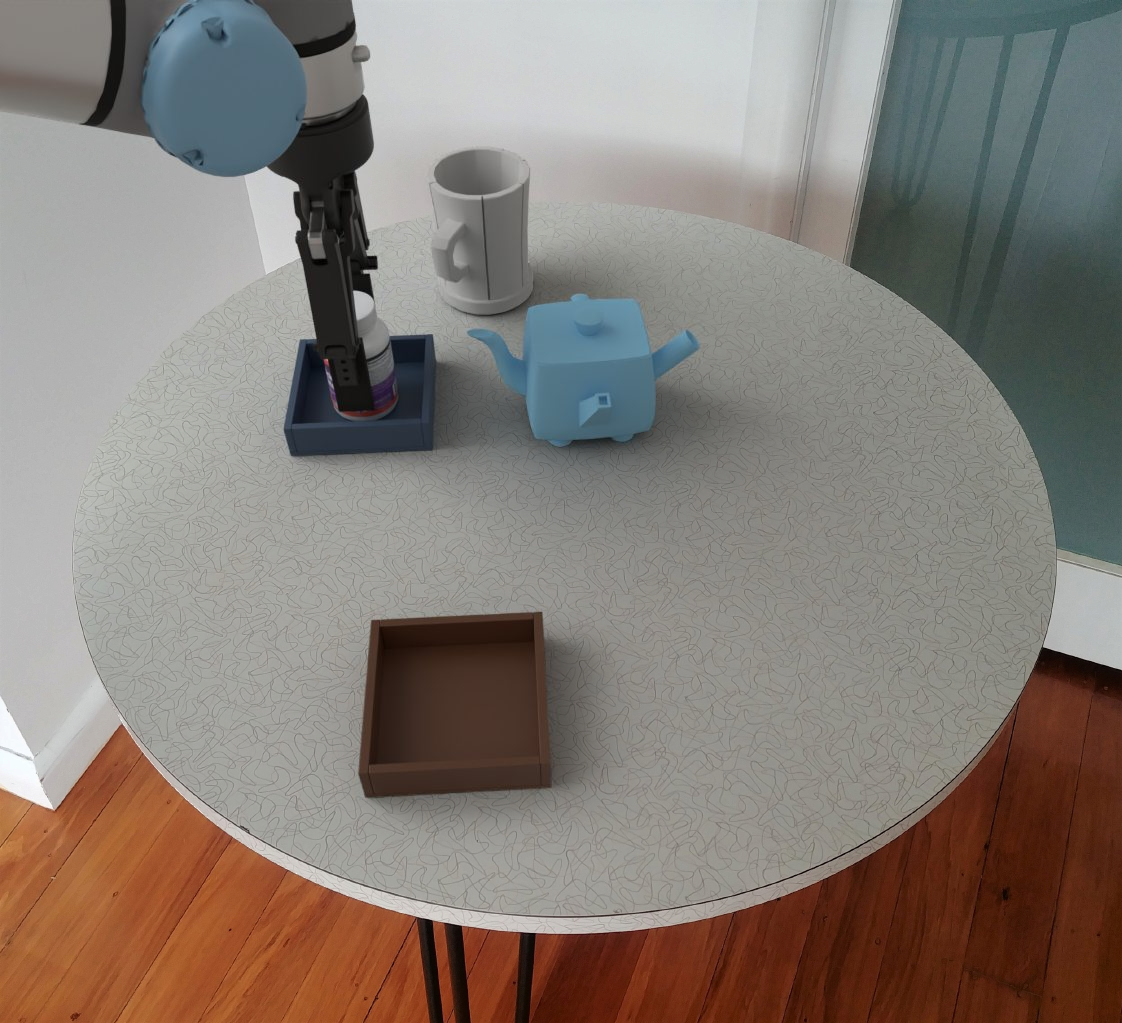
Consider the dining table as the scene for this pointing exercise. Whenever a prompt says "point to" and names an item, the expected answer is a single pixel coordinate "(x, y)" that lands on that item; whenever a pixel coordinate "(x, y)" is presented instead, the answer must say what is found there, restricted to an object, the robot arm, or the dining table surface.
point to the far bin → (327, 432)
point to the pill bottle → (372, 362)
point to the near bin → (455, 706)
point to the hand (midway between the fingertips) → (360, 374)
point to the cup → (481, 228)
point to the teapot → (587, 368)
